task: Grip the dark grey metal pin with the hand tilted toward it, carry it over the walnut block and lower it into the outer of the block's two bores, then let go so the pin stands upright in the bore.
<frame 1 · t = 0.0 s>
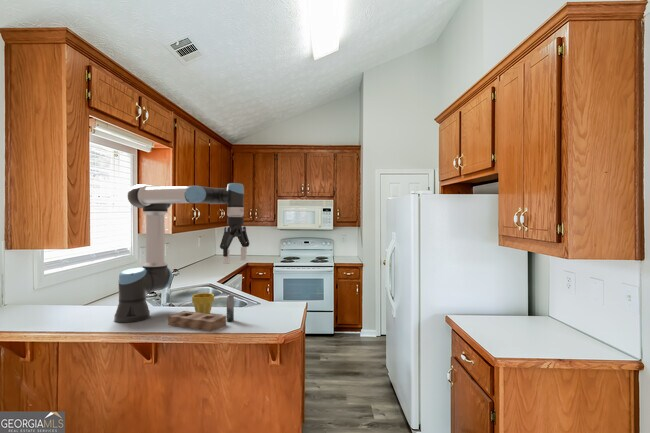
hand: (235, 262, 173), 28 cm above the table, tool pointing down, fingers open, 13 cm apart
metal pin: (230, 320, 175), on the table
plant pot: (203, 315, 185), on the table
walnut block: (197, 324, 168), on the table
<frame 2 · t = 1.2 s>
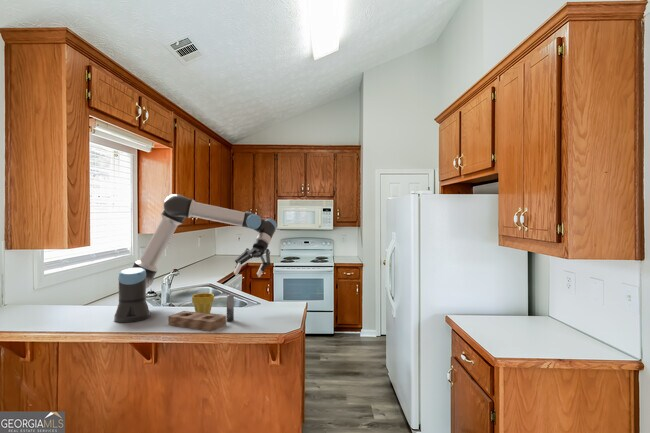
hand: (246, 275, 187), 20 cm above the table, tool tilted 45°, fingers open, 13 cm apart
nothing on the table moved.
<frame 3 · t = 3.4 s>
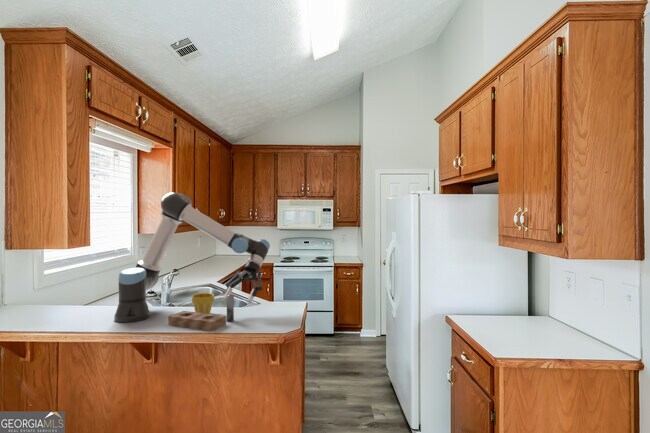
hand: (237, 300, 178), 9 cm above the table, tool tilted 45°, fingers open, 13 cm apart
nothing on the table moved.
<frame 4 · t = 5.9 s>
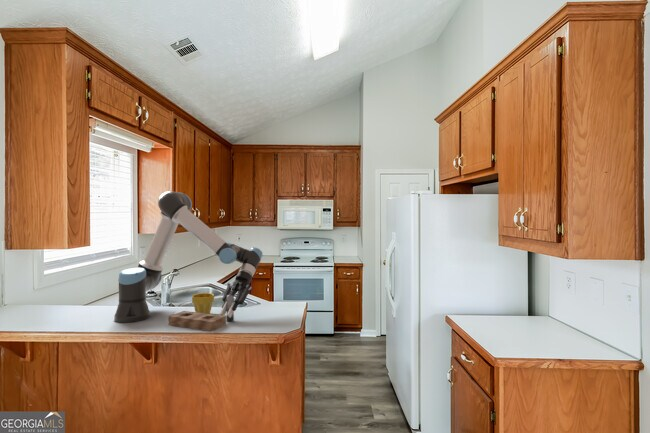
hand: (225, 315, 171), 3 cm above the table, tool tilted 45°, fingers closed on metal pin, 3 cm apart
metal pin: (230, 320, 175), on the table, touching gripper
everything else where it was.
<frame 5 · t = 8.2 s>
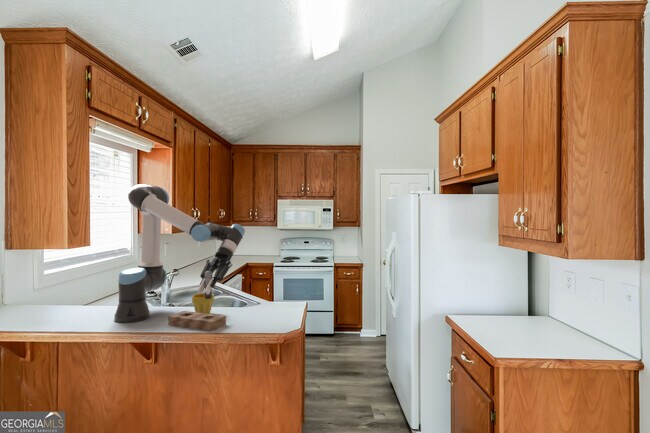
hand: (202, 292, 162), 16 cm above the table, tool tilted 45°, fingers closed on metal pin, 3 cm apart
metal pin: (208, 298, 166), point 13 cm above the table, touching gripper
everything else where it was.
when the fingers open (6 cm above the table, at t = 10.8 s): metal pin drops 1 cm, resting on walnut block.
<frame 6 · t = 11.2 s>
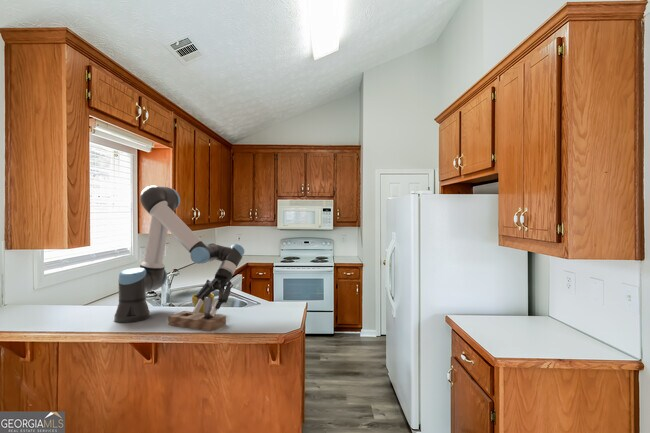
hand: (203, 313, 163), 6 cm above the table, tool tilted 45°, fingers open, 8 cm apart
metal pin: (207, 324, 166), point 1 cm above the table, touching walnut block
everything else where it was.
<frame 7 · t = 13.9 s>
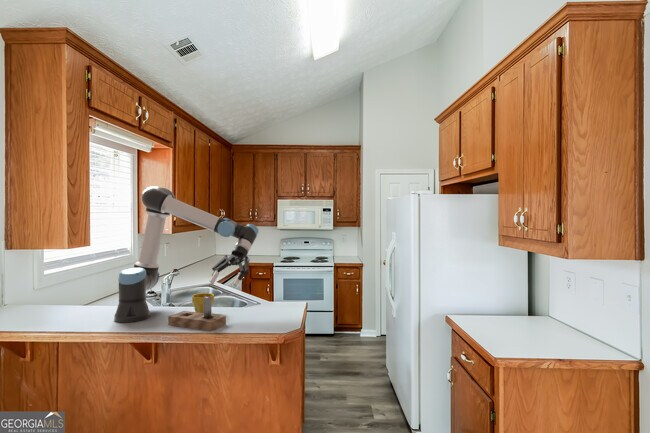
hand: (222, 284, 176), 17 cm above the table, tool tilted 45°, fingers open, 13 cm apart
nothing on the table moved.
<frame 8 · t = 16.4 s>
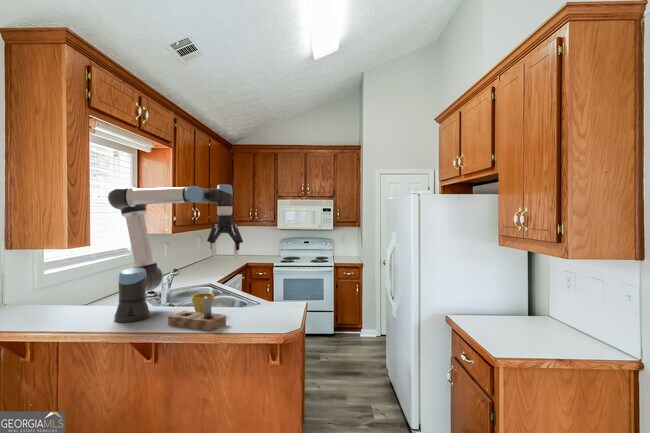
hand: (224, 256, 190), 29 cm above the table, tool pointing down, fingers open, 13 cm apart
nothing on the table moved.
at the end: metal pin 0.1 cm from the target spot on the walnut block, point 1.0 cm above the walnut block's base; metal pin tilted 1°; the gripper is holding nothing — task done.
